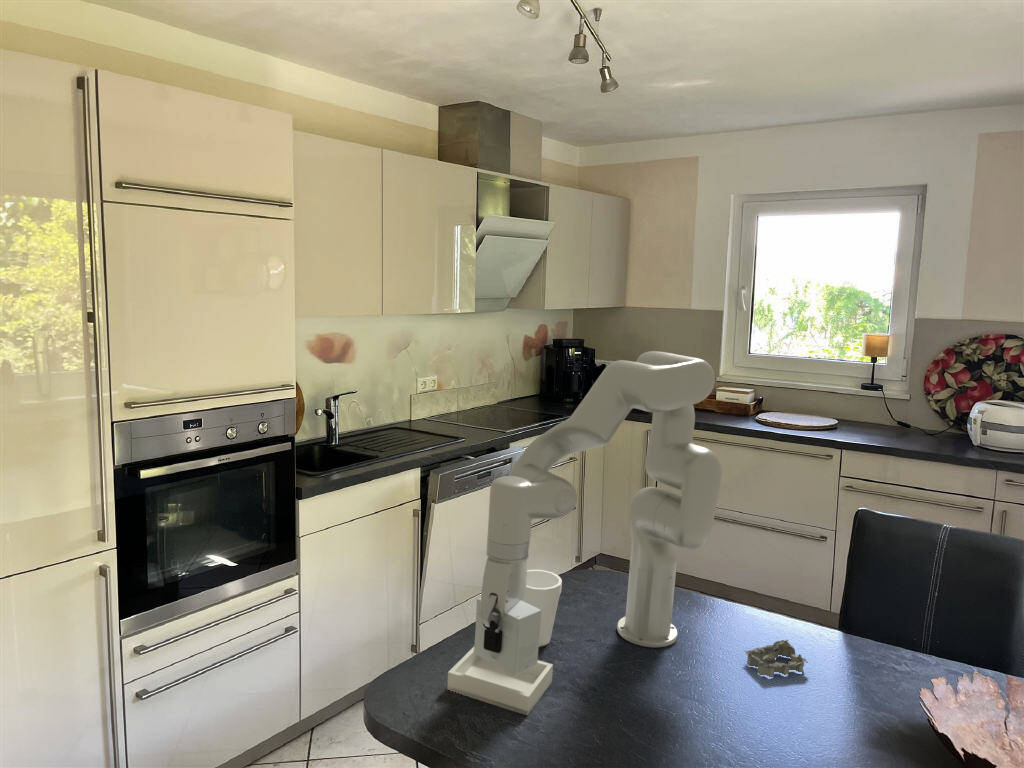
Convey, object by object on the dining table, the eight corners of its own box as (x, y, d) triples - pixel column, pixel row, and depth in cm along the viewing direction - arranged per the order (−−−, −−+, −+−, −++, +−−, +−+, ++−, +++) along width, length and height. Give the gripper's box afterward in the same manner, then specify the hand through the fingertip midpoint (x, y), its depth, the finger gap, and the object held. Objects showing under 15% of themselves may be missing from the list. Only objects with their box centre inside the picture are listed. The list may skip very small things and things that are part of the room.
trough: (476, 659, 142) (477, 643, 142) (551, 682, 136) (553, 664, 136) (447, 690, 132) (448, 672, 131) (527, 715, 126) (528, 696, 125)
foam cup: (553, 653, 146) (557, 592, 144) (508, 646, 148) (511, 585, 146) (560, 631, 155) (564, 572, 153) (517, 624, 157) (520, 567, 155)
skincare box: (539, 663, 131) (542, 608, 129) (514, 677, 127) (517, 620, 125) (497, 640, 138) (500, 588, 136) (472, 652, 134) (475, 598, 132)
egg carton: (786, 657, 150) (789, 638, 150) (810, 677, 143) (812, 657, 143) (740, 661, 148) (742, 642, 147) (761, 682, 141) (764, 662, 140)
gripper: (509, 528, 139) (503, 615, 142) (466, 559, 123) (461, 656, 126) (546, 536, 136) (539, 625, 139) (507, 569, 120) (501, 668, 123)
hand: (502, 639), depth 132 cm, fingers closed on skincare box, 7 cm apart
